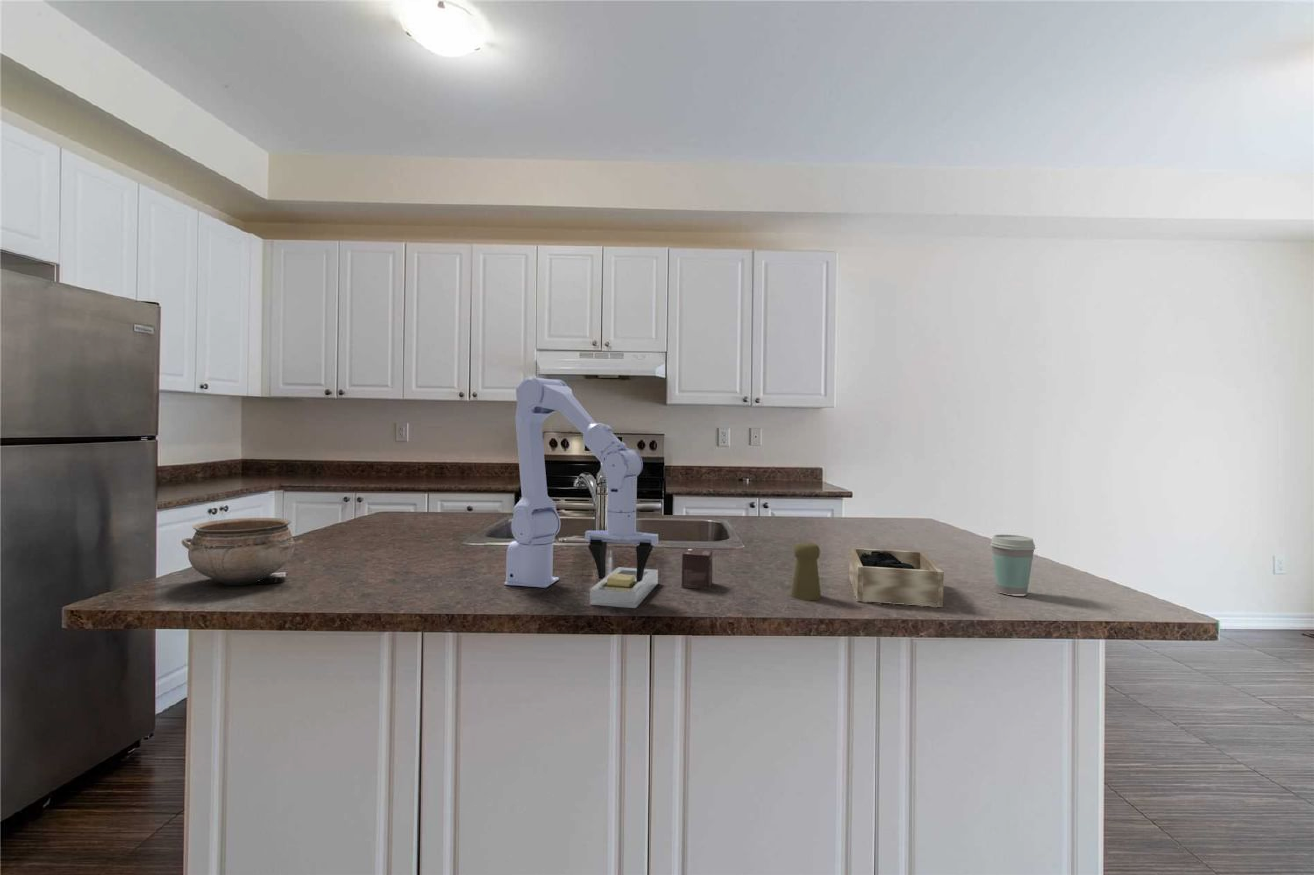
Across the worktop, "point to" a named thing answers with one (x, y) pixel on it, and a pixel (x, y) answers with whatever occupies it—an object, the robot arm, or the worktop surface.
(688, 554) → the box
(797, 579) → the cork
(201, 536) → the cooking pot
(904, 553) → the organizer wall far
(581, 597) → the worktop surface
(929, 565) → the wall
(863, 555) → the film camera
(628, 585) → the pale yellow wooden cube
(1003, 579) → the coffee cup
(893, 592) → the wall
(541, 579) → the robot arm
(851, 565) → the organizer wall panel
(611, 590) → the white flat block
